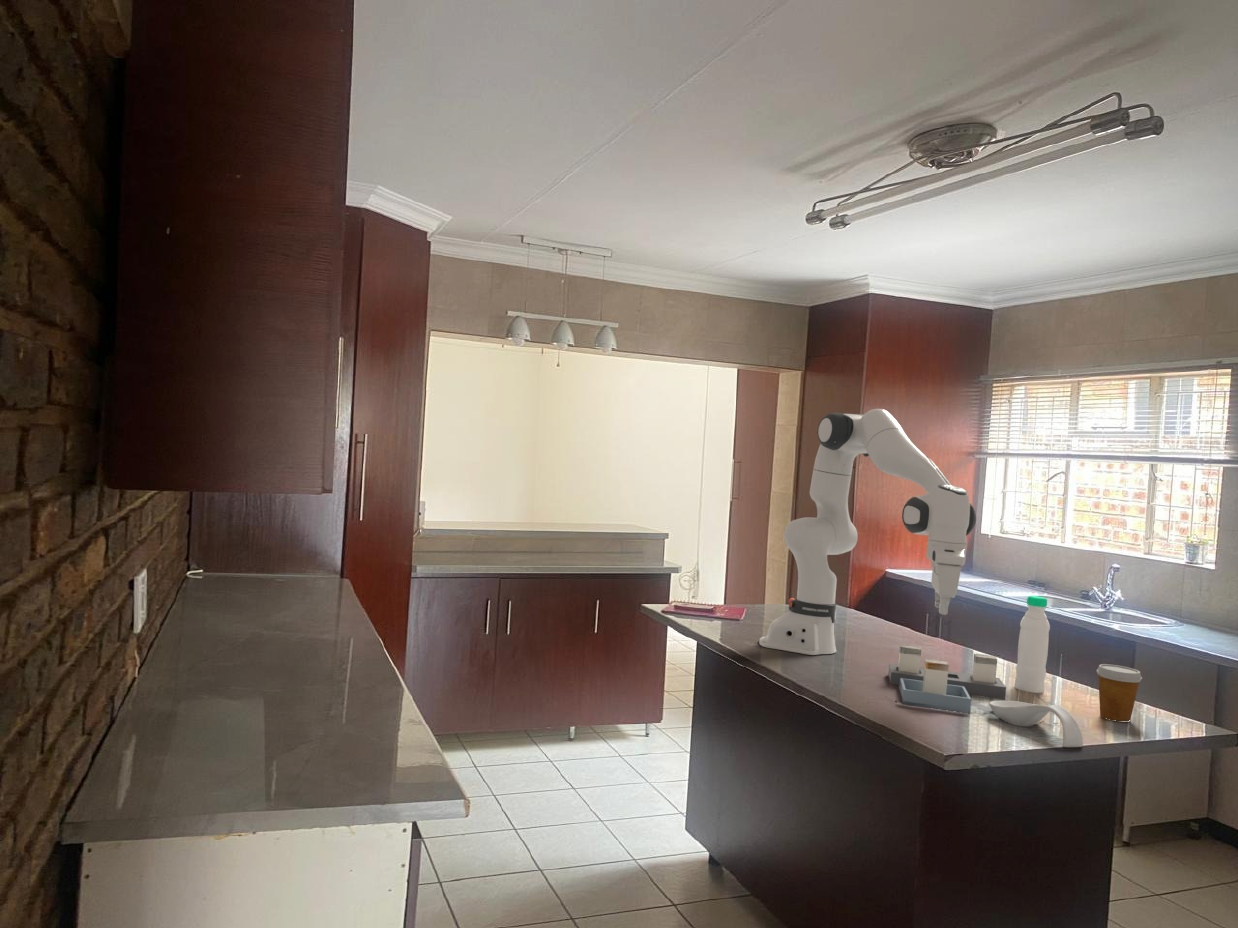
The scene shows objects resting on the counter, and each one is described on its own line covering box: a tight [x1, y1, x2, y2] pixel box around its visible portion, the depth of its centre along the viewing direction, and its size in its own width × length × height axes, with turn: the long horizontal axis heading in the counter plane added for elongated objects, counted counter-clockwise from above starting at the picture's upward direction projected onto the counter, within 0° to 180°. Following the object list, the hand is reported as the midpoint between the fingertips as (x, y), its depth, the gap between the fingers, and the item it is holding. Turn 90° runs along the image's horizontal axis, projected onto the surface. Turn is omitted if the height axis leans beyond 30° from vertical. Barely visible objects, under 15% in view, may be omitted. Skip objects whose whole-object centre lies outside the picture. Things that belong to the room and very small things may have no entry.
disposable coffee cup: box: [1096, 663, 1143, 721], centre depth 214 cm, size 10×10×12 cm
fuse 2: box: [972, 653, 998, 683], centre depth 226 cm, size 5×4×9 cm
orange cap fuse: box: [922, 658, 949, 695], centre depth 215 cm, size 5×4×9 cm
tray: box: [898, 678, 972, 714], centre depth 215 cm, size 15×12×4 cm
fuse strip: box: [888, 663, 1007, 701], centre depth 228 cm, size 27×10×4 cm, turn 76°
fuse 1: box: [897, 644, 922, 673], centre depth 230 cm, size 5×4×9 cm
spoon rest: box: [988, 700, 1084, 748], centre depth 199 cm, size 24×12×7 cm, turn 16°
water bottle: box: [1014, 595, 1051, 694], centre depth 233 cm, size 7×7×25 cm
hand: (940, 610), depth 215 cm, fingers open, 8 cm apart
